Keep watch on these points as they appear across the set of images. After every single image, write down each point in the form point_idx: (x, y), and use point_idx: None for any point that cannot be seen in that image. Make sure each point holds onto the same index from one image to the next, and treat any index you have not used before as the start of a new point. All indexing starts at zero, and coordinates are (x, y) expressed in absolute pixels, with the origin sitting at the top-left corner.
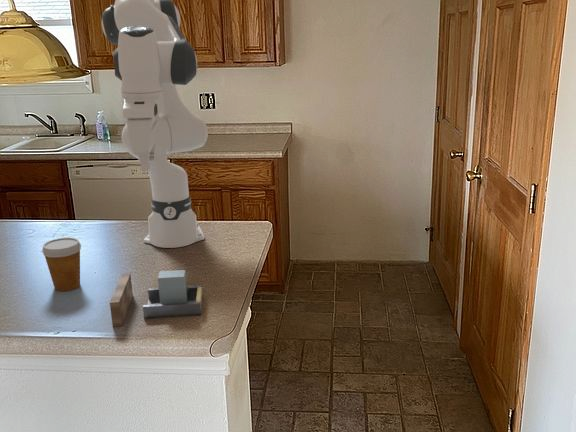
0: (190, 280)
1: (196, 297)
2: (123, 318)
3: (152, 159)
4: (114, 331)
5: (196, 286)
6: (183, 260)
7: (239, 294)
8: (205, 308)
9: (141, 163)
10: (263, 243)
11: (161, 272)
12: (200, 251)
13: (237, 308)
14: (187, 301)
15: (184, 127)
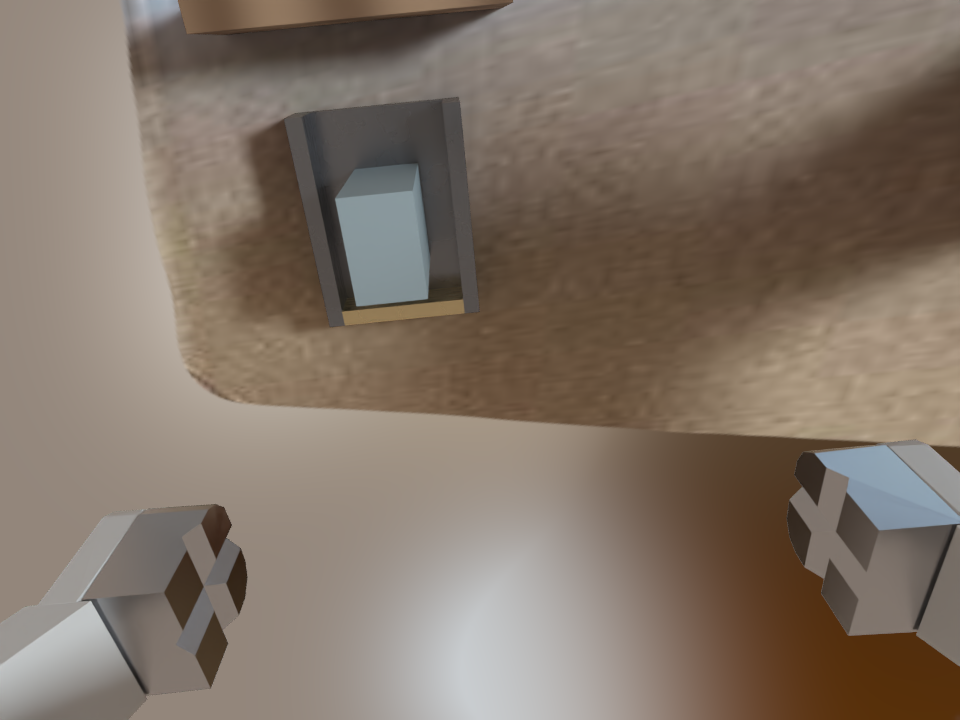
0: (622, 230)
1: (376, 308)
2: (266, 30)
3: (795, 529)
4: None
5: (470, 294)
6: (840, 166)
7: (487, 403)
8: None
9: (25, 621)
10: None
11: (398, 202)
12: (920, 224)
13: (388, 407)
14: None
15: None
